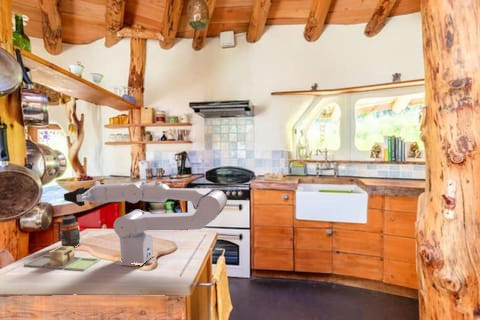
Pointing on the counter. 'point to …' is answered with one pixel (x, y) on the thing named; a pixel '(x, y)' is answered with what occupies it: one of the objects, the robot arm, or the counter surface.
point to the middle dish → (60, 266)
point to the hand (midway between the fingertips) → (74, 194)
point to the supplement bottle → (70, 232)
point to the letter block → (62, 256)
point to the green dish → (82, 264)
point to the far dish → (39, 261)
